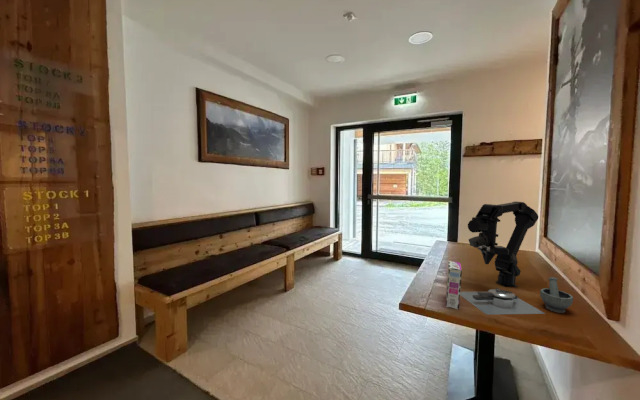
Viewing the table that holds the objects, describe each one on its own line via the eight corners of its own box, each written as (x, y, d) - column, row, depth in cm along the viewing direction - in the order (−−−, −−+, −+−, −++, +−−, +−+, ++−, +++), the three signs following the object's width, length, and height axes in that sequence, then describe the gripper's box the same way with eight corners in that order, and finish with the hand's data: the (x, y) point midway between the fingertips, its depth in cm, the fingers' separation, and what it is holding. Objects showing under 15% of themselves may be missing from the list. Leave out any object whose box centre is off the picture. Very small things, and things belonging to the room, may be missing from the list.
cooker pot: (506, 297, 116) (506, 290, 116) (523, 307, 107) (524, 300, 107) (466, 297, 115) (467, 290, 115) (480, 308, 106) (481, 300, 106)
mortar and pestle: (575, 318, 100) (578, 287, 99) (544, 312, 104) (547, 283, 103) (563, 305, 110) (566, 277, 109) (535, 300, 114) (537, 273, 113)
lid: (503, 291, 115) (503, 286, 115) (520, 298, 106) (520, 293, 106) (472, 291, 114) (472, 287, 114) (486, 298, 105) (486, 294, 105)
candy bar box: (459, 310, 104) (462, 270, 103) (445, 307, 107) (448, 268, 105) (458, 299, 115) (460, 262, 113) (445, 296, 117) (447, 260, 115)
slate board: (506, 292, 122) (506, 291, 122) (545, 314, 103) (545, 313, 103) (456, 292, 121) (456, 291, 121) (486, 315, 101) (486, 314, 101)
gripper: (460, 227, 132) (458, 258, 134) (486, 235, 114) (483, 271, 115) (481, 227, 133) (479, 258, 134) (510, 235, 114) (508, 271, 116)
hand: (486, 264), depth 125 cm, fingers closed
